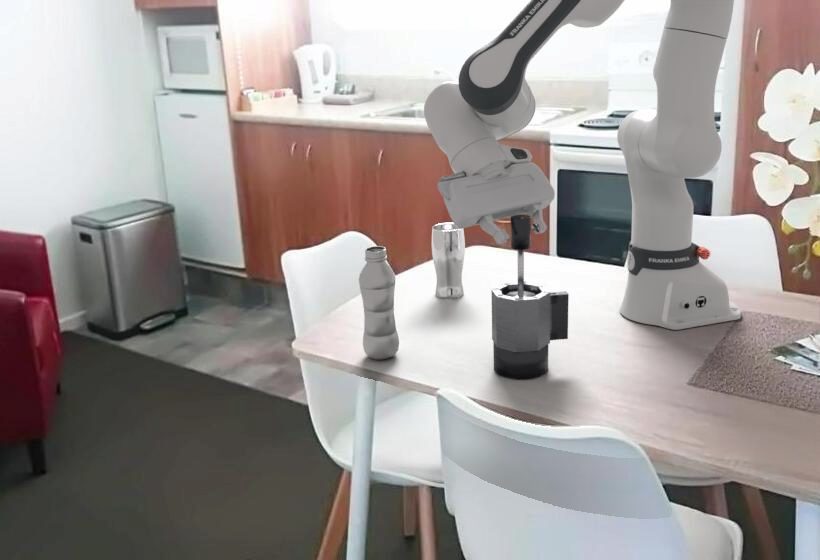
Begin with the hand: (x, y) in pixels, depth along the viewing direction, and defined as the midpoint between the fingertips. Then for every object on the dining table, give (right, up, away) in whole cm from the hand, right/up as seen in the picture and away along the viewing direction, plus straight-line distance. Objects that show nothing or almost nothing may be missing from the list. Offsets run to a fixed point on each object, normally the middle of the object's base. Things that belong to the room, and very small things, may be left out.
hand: (523, 236), depth 138 cm
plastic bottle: (-23, -21, +15) cm, 35 cm away
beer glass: (-10, -10, +45) cm, 47 cm away
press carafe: (+2, -22, +8) cm, 23 cm away
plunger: (0, -10, +4) cm, 11 cm away
